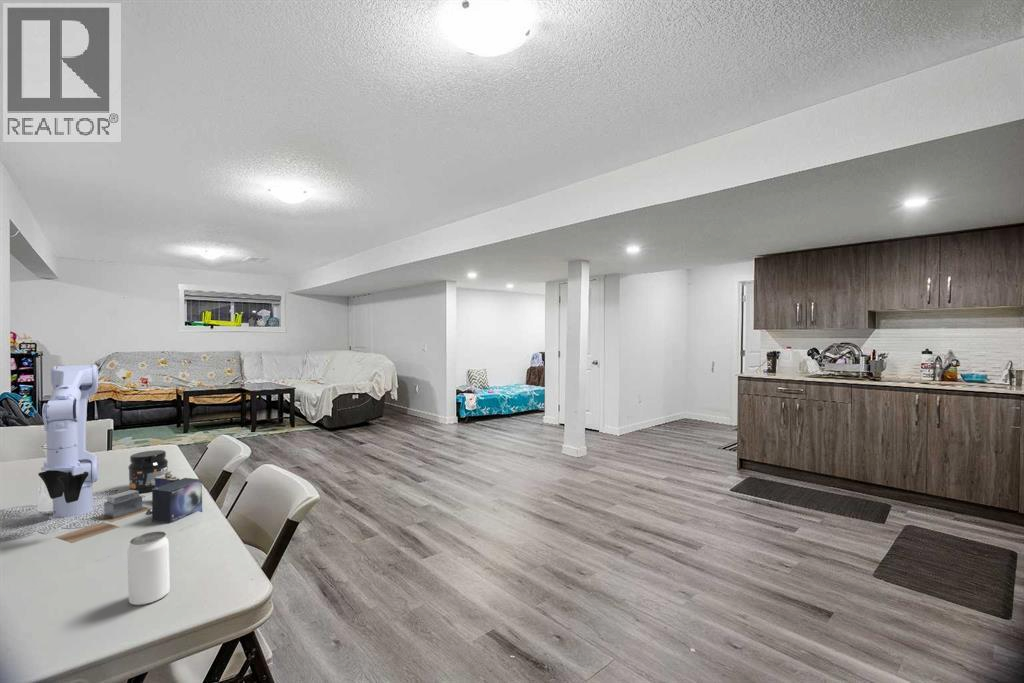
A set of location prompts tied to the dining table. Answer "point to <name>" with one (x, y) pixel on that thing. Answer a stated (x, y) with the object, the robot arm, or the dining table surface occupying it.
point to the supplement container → (146, 469)
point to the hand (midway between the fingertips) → (64, 499)
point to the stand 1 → (87, 532)
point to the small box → (176, 500)
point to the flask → (164, 479)
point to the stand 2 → (123, 516)
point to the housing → (122, 504)
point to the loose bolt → (149, 512)
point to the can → (148, 568)
